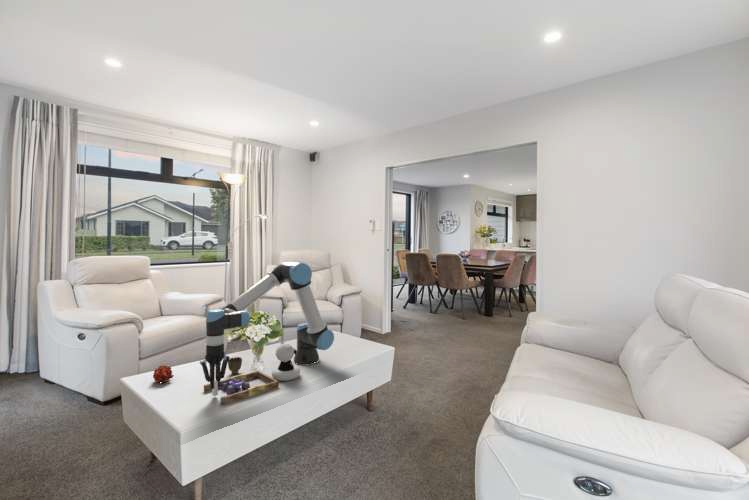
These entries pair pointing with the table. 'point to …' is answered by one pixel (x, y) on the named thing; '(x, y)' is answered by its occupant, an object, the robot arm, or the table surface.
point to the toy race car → (235, 386)
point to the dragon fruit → (162, 374)
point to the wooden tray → (251, 391)
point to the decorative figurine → (285, 363)
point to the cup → (234, 364)
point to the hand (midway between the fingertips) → (214, 394)
